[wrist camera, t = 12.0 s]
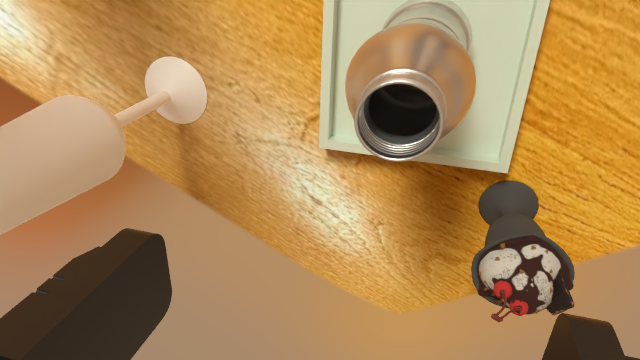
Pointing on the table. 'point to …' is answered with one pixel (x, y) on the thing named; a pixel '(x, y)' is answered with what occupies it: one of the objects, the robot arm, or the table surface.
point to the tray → (490, 71)
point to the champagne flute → (83, 141)
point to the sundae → (520, 256)
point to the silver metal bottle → (412, 80)
